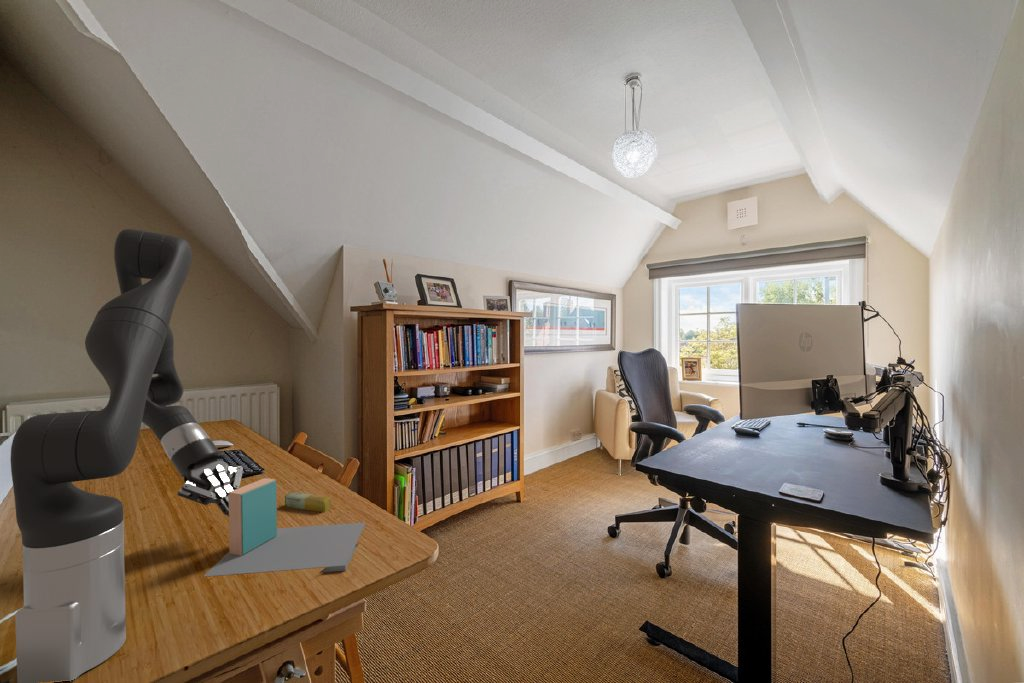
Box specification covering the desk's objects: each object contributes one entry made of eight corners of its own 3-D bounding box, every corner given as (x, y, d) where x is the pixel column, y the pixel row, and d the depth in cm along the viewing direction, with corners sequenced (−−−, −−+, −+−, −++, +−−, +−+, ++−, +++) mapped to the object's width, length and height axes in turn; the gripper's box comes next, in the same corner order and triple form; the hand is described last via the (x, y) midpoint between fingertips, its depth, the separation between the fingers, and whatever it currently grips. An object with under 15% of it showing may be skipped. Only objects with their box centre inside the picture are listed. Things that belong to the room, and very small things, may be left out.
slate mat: (345, 570, 74) (345, 565, 74) (203, 582, 71) (202, 576, 71) (366, 526, 91) (366, 522, 91) (251, 534, 88) (251, 529, 87)
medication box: (284, 511, 100) (283, 495, 99) (292, 506, 102) (292, 491, 102) (324, 517, 96) (324, 501, 96) (332, 512, 99) (332, 496, 99)
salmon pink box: (229, 553, 78) (228, 492, 78) (265, 533, 86) (264, 478, 86) (242, 556, 77) (241, 494, 77) (277, 535, 85) (276, 479, 85)
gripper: (165, 446, 79) (212, 515, 76) (229, 430, 92) (272, 489, 88) (147, 470, 81) (192, 539, 77) (213, 451, 93) (254, 510, 90)
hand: (234, 512), depth 83 cm, fingers closed
